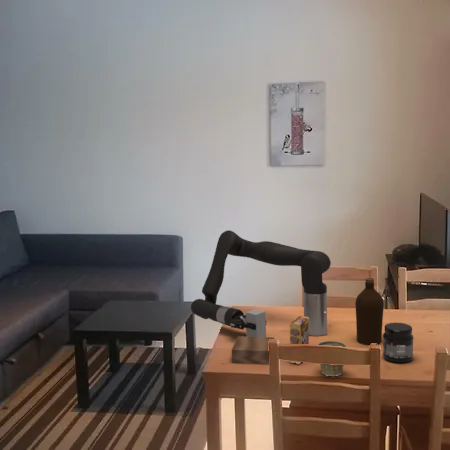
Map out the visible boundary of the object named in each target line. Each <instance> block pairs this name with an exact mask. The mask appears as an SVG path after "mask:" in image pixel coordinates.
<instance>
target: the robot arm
mask: <svg viewBox="0 0 450 450" xmlns="http://www.w3.org/2000/svg"><path fill="white" fill-rule="evenodd" d="M228 255H229V256H232V257H233V256H234V257H242V258H247V259H248V258H249V259H252V260H255V261H258V262H262V263H265V264H269V265H274V266H281V267H282V266H283V267H287V266H288V267H291V266H293V267H295V266H296V267H300V274H301V277H300V278H301V284H302V287H303V317H308V318H309V336H312V337H313V336H314V337H316V336H317V337H319V336H320V337H321V336H327V334H328V308H327V307H328V299H327V298H328V297H327V296H328V293H327V292H328V287H327V286H328V285H327V284H326V283H324V282H323V274H324V273H326V272H328V270H329V269H330V268H331V264H332V262H331V259H330V257H329V256H328V254H326V253H325V252H324V251H320V250H310V249H302V248H298V247H294V246H291V245H286V244H281V243H277V242H273V241H269V240H266V241H265V240H263V241H258V242H257V241H256V242H255V241H250V240H247V239H244V238H242V237H240V235H238V234H237V233H235V231H234V230H233V231H232V230H225V231H223V232H222V233H221V234H220V235H219V237H218V240H217V244H216V247H215V251H214V255H213V259H212V263H211V266H210V269H209V272H208V274H207V277H206V279H205V280H204V281H205V282H204V284H203V286H202V289H201V293H202V294H203V295H204V297H205V298H204V299H203V298H198V299H197V298H196V299H195V300H193V301H192V302H191V304H190V310H191V313H193V314H194V315H195V316H197V317H200V318H202V319H203V320H208V319H210V320H212V321H213V322H217V323H220V324H222V325H225V326H228V327H230V328H233V329H237V330H246V329H248V328H249V329H253V330H256V324H253V323H248V322H247V321H246V313H244V311H243V310H241V309H238V308H234V307H231V306H227V305H226V306H224V305H222V304H217V300H218V294H219V292H220V289H221V287H222V285H223V281H224V277H225V276H224V275H225V266H226V262H227V257H228ZM266 326H267V323H266Z"/></svg>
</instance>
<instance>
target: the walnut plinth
mask: <svg viewBox="0 0 450 450" xmlns="http://www.w3.org/2000/svg"><path fill="white" fill-rule="evenodd" d="M269 339H274V340H275V337H272V336H271V337H269V336H268V337H267V336H266V337H246V336H243V335H242V336H239V335H238V336H237V337H236V339H235V342H234V344H233V346H232V349H231V363H232V364H245V365H246V364H251V365H253V364H254V365H269V364H268V363H269V351H268V341H269Z"/></svg>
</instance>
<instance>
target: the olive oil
mask: <svg viewBox="0 0 450 450" xmlns="http://www.w3.org/2000/svg"><path fill="white" fill-rule="evenodd" d="M364 285H365V286H364V289H363V290H362V291H361V292H360V293H359V294H358V295H357V296H356V298H355V302H354V303H355V319H356V321H355V324H356V341H357V343H359V344H361V345H365V346H370V345H369V344H371V343H378V344H377V345H379V344H381V343H382V342H383V341H382V339H383V320H384V318H383V317H384V307H385V305H384V304H385V303H384V299H383V297H382V295H381V294H380V293H379V292H378V290H376V289H375V279H374V278H373V277H366V278H365V282H364Z"/></svg>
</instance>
